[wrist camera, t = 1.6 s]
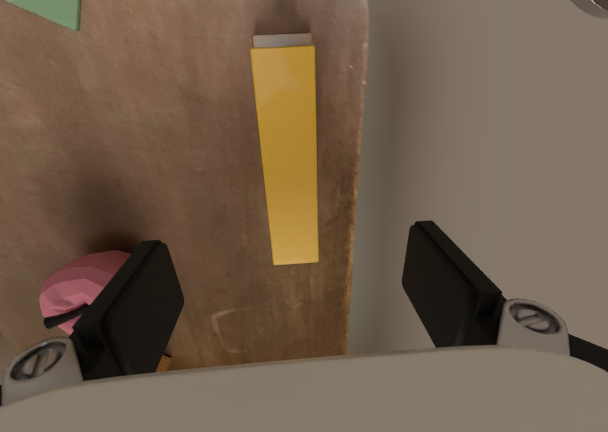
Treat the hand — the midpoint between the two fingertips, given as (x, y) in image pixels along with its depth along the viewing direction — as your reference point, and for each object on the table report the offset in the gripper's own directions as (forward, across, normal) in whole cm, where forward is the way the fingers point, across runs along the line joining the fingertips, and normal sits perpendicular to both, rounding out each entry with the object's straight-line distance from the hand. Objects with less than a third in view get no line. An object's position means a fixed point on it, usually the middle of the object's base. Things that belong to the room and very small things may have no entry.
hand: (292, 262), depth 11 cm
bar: (+11, 0, -1) cm, 11 cm away
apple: (+20, +21, +13) cm, 32 cm away
